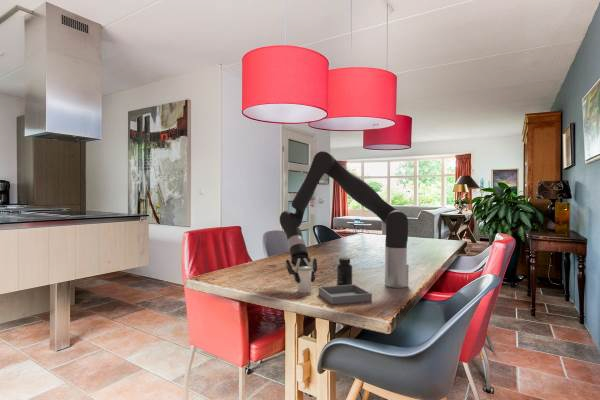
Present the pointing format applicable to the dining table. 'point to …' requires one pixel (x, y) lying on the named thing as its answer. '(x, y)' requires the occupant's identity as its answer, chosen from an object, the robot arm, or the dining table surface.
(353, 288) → the tray
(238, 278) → the dining table surface
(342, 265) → the supplement bottle
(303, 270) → the green capped canister
